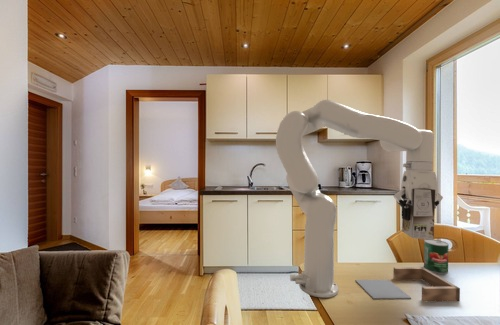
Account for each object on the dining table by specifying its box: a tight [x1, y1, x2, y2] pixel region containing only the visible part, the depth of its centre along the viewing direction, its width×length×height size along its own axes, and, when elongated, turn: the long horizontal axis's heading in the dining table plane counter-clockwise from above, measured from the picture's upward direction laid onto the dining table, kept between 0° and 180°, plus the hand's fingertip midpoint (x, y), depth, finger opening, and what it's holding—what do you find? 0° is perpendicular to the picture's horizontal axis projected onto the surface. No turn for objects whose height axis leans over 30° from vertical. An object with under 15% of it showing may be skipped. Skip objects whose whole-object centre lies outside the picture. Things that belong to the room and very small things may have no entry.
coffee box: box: [401, 189, 436, 240], centre depth 84 cm, size 9×6×16 cm
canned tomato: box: [423, 239, 450, 275], centre depth 100 cm, size 8×8×11 cm
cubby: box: [392, 266, 461, 303], centre depth 84 cm, size 11×15×4 cm
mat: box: [354, 279, 412, 300], centre depth 84 cm, size 12×12×1 cm
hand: (417, 219), depth 84 cm, fingers closed on coffee box, 7 cm apart
